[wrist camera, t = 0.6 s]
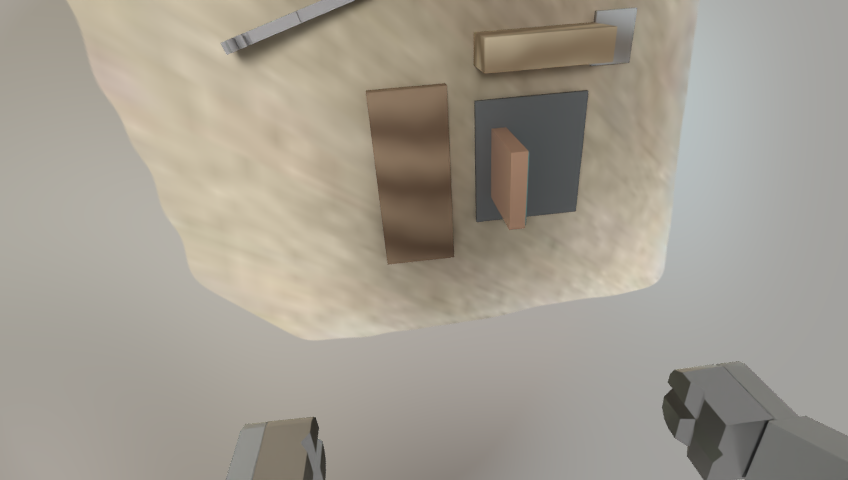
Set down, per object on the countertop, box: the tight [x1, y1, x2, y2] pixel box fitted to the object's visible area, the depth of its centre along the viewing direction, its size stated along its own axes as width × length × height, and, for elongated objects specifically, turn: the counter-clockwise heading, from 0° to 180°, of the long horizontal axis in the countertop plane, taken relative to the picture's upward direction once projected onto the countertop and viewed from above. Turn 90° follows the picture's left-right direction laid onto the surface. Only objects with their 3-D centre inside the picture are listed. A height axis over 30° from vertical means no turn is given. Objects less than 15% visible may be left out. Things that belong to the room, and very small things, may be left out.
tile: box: [491, 127, 529, 230], centre depth 47 cm, size 8×2×8 cm, turn 4°
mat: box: [475, 90, 588, 222], centre depth 51 cm, size 14×12×1 cm
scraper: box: [474, 8, 637, 74], centre depth 43 cm, size 5×16×5 cm, turn 94°
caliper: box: [221, 0, 354, 54], centre depth 40 cm, size 20×1×6 cm, turn 110°
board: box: [366, 83, 454, 264], centre depth 51 cm, size 20×8×1 cm, turn 4°
